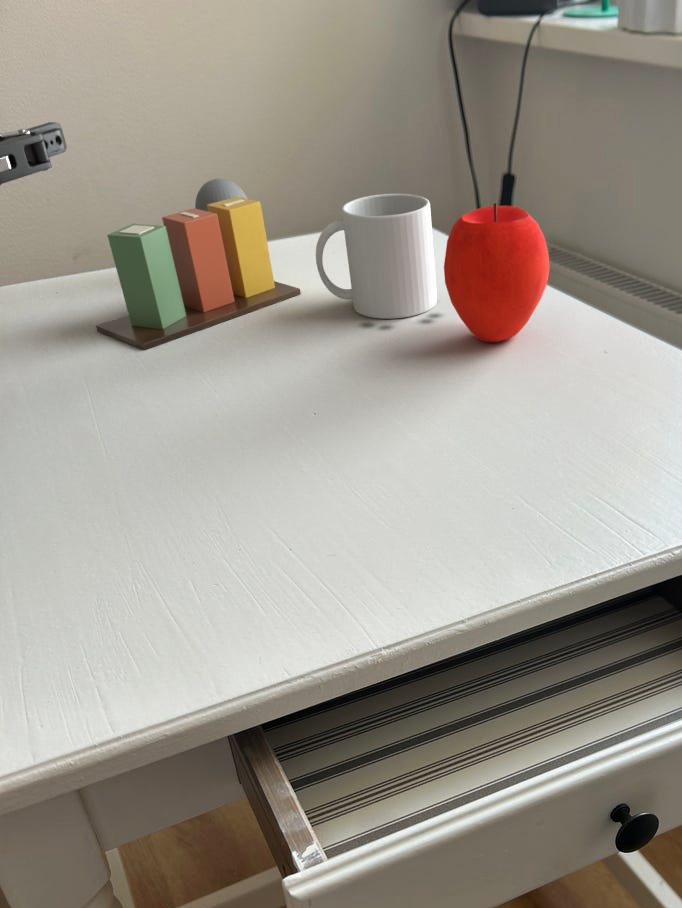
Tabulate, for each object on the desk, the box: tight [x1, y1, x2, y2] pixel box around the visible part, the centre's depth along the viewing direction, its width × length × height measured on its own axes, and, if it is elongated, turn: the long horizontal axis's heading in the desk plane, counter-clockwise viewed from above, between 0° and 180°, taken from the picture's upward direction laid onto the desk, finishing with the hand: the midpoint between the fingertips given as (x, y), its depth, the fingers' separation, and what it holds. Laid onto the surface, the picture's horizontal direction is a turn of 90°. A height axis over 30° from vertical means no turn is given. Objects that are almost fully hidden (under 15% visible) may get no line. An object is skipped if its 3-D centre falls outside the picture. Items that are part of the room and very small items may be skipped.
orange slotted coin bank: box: [161, 207, 234, 312], centre depth 102 cm, size 4×4×9 cm
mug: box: [315, 193, 438, 320], centre depth 101 cm, size 11×10×10 cm
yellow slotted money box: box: [207, 197, 275, 298], centre depth 105 cm, size 4×4×9 cm
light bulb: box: [194, 178, 248, 212], centre depth 113 cm, size 6×6×10 cm
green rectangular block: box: [107, 223, 186, 329], centre depth 99 cm, size 4×4×9 cm
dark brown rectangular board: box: [95, 280, 302, 351], centre depth 105 cm, size 9×20×1 cm, turn 138°
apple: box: [443, 202, 550, 343], centre depth 91 cm, size 10×10×12 cm
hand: (20, 134), depth 82 cm, fingers open, 8 cm apart
